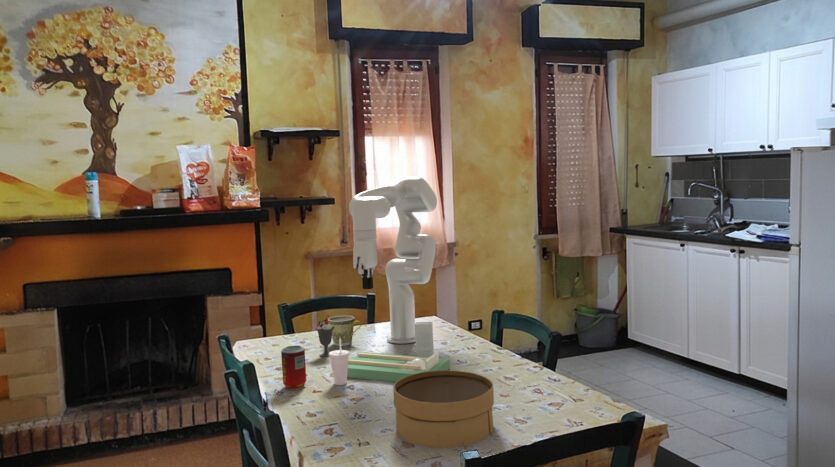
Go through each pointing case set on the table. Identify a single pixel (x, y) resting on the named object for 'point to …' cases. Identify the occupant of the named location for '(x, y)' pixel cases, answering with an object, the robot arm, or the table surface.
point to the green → (392, 366)
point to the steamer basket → (444, 408)
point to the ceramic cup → (343, 329)
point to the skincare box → (424, 339)
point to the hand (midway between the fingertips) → (368, 288)
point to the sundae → (325, 335)
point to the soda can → (293, 367)
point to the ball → (418, 362)
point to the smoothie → (339, 365)
